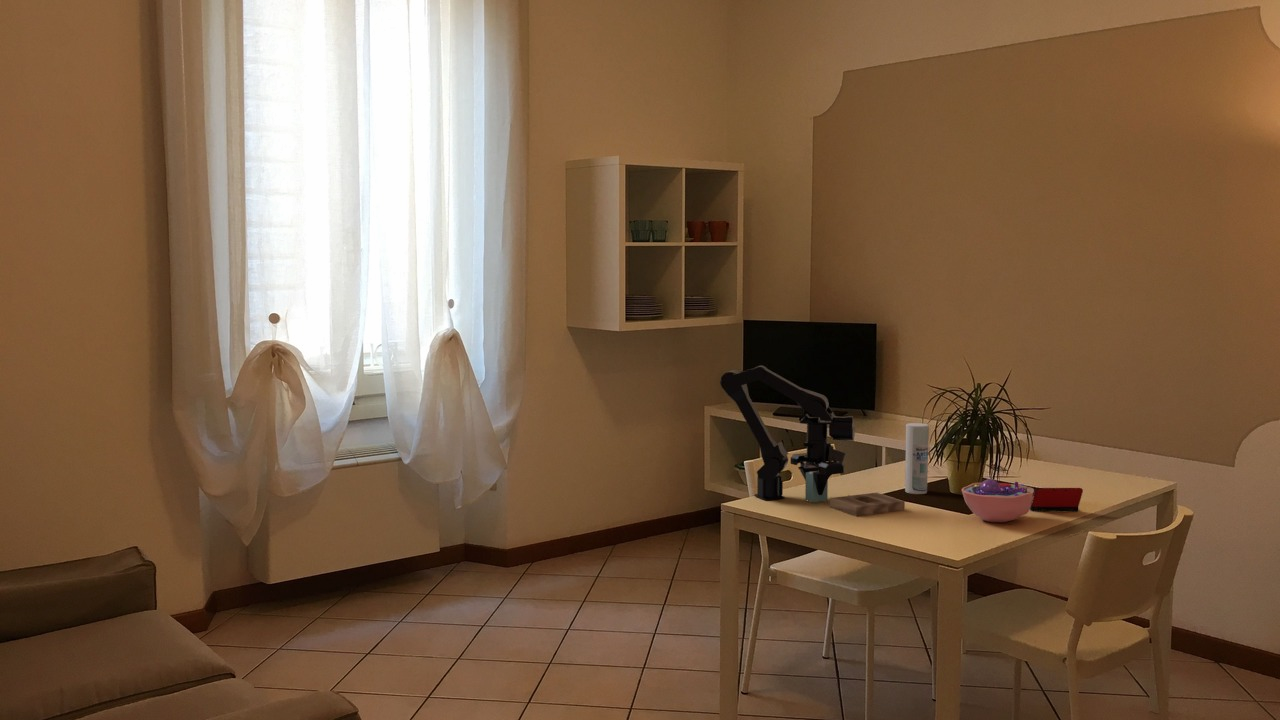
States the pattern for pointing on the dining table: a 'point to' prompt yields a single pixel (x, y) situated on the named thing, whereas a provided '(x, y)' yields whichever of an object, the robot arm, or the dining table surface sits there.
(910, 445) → the spray can
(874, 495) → the socket block
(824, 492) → the keyed peg
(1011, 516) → the cell model
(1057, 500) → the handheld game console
